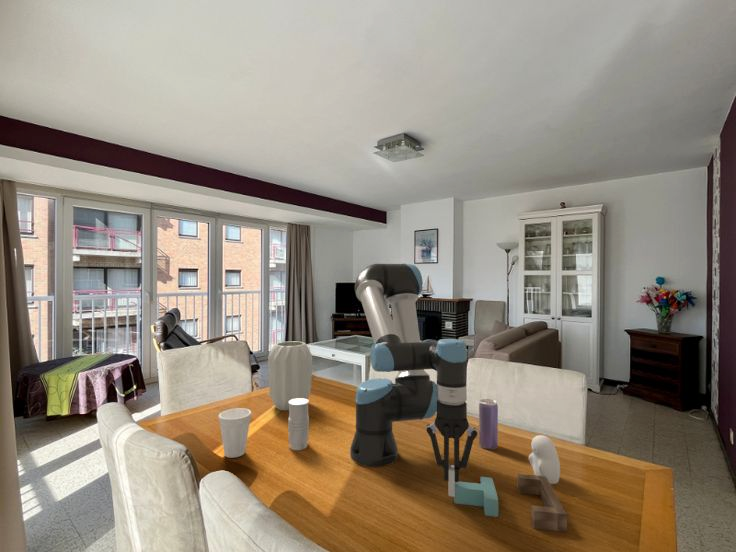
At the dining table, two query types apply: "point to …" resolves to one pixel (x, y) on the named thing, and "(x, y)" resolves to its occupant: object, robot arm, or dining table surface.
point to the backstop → (553, 510)
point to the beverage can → (488, 424)
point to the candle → (298, 423)
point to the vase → (289, 372)
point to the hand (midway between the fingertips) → (451, 493)
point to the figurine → (545, 459)
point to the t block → (478, 495)
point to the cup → (234, 431)
